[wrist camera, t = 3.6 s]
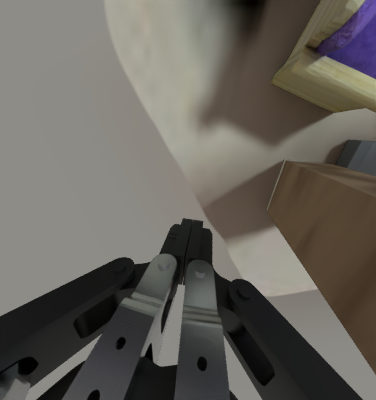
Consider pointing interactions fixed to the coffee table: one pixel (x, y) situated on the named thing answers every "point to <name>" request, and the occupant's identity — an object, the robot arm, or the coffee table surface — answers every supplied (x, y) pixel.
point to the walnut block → (333, 239)
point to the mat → (359, 156)
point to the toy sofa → (335, 57)
